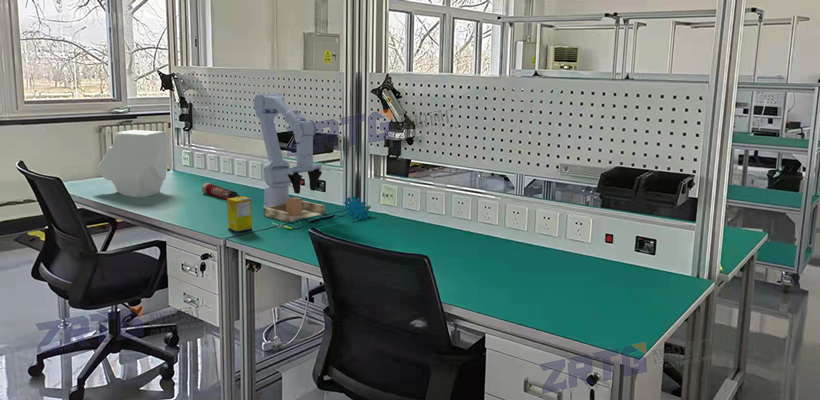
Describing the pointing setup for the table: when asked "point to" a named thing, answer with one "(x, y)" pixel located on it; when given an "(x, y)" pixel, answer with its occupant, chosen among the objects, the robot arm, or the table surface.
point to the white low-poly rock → (136, 162)
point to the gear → (356, 208)
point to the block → (294, 206)
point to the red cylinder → (218, 191)
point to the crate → (281, 214)
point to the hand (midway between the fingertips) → (305, 191)
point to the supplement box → (239, 214)
